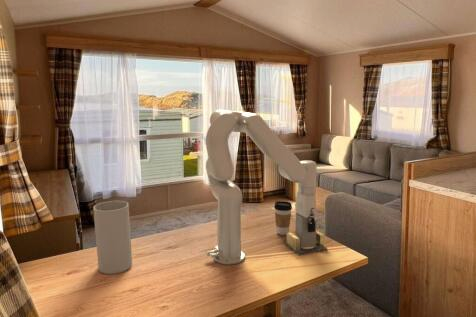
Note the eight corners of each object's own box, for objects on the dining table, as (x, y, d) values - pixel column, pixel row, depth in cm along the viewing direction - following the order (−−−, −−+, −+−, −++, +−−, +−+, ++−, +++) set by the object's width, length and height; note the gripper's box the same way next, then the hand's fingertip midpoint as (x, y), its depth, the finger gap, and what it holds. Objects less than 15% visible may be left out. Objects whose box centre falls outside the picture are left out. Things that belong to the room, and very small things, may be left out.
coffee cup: (271, 230, 175) (271, 201, 173) (286, 228, 178) (287, 199, 175) (278, 236, 168) (278, 206, 165) (294, 234, 170) (295, 204, 167)
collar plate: (298, 255, 148) (299, 241, 147) (283, 243, 160) (284, 230, 159) (327, 250, 153) (327, 236, 152) (310, 238, 165) (311, 226, 164)
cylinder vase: (138, 261, 144) (134, 202, 139) (120, 276, 132) (115, 212, 127) (111, 258, 147) (107, 199, 142) (91, 272, 135) (86, 209, 131)
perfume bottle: (315, 246, 154) (317, 206, 151) (301, 247, 153) (302, 207, 149) (309, 240, 161) (310, 201, 157) (295, 241, 159) (296, 202, 156)
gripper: (289, 185, 159) (288, 222, 162) (310, 195, 143) (308, 236, 146) (303, 183, 161) (302, 220, 164) (326, 193, 145) (324, 234, 149)
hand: (305, 227), depth 155 cm, fingers open, 8 cm apart
